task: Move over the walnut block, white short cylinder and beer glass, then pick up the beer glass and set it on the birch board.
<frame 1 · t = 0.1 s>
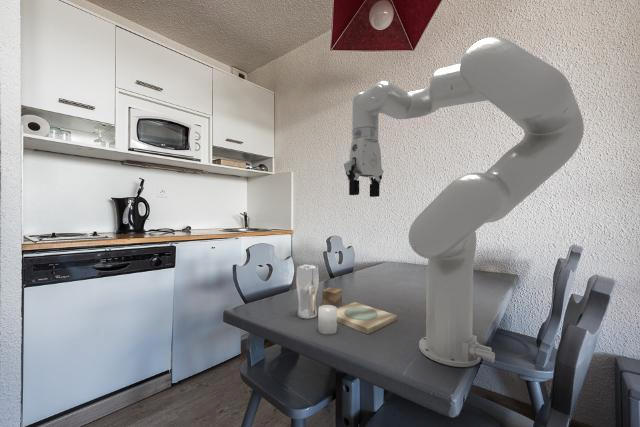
hand: (364, 195, 80), 37 cm above the table, tool pointing down, fingers open, 9 cm apart
walnut block: (332, 304, 95), on the table
white short cylinder: (327, 330, 73), on the table
beer glass: (307, 315, 84), on the table
birch board: (360, 318, 82), on the table
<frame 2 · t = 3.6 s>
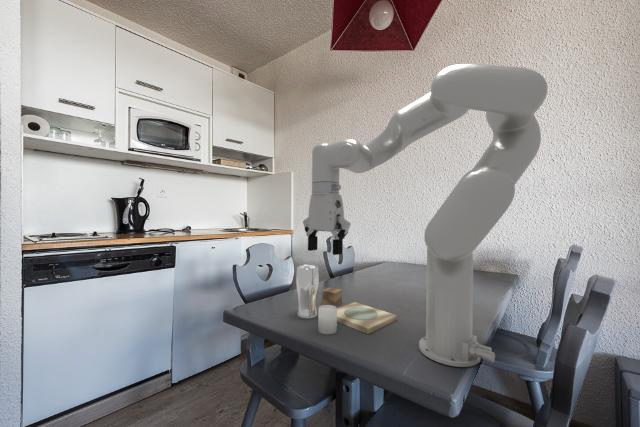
hand: (324, 252, 75), 21 cm above the table, tool pointing down, fingers open, 9 cm apart
nothing on the table moved.
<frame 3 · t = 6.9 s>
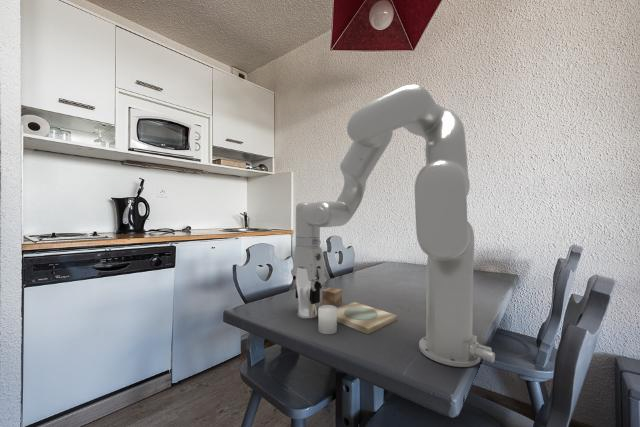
hand: (307, 299, 84), 5 cm above the table, tool pointing down, fingers closed on beer glass, 6 cm apart
beer glass: (307, 315, 84), on the table, touching gripper
everything else where it was.
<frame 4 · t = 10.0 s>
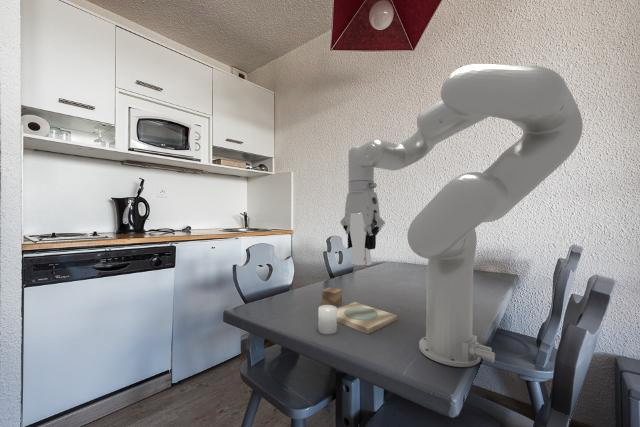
hand: (361, 247, 81), 21 cm above the table, tool pointing down, fingers closed on beer glass, 6 cm apart
beer glass: (361, 263, 81), point 16 cm above the table, touching gripper
everything else where it was.
when the fingers open (8 cm above the table, at t = 13.6 s): beer glass drops 1 cm, resting on birch board.
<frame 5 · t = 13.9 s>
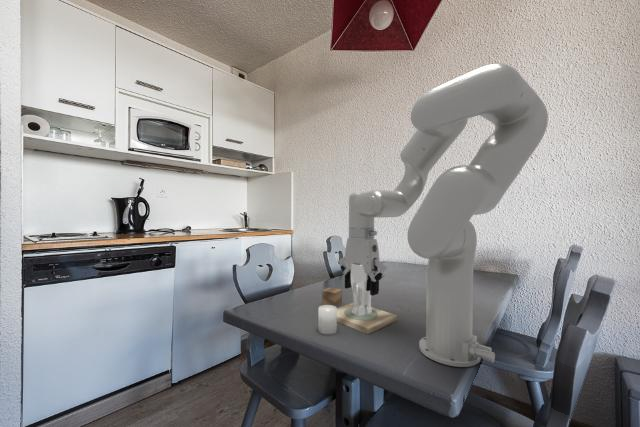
hand: (361, 291, 82), 8 cm above the table, tool pointing down, fingers open, 9 cm apart
beer glass: (361, 313, 82), point 2 cm above the table, touching birch board
everything else where it was.
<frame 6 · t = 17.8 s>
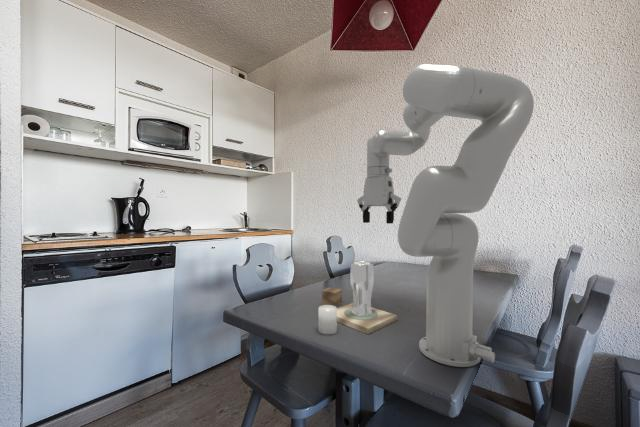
hand: (377, 223, 94), 28 cm above the table, tool pointing down, fingers open, 9 cm apart
nothing on the table moved.
at the end: beer glass inside the target area on the birch board (0.2 cm from its centre), point 1.5 cm above the birch board's base; beer glass tilted 0°; the gripper is holding nothing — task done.
